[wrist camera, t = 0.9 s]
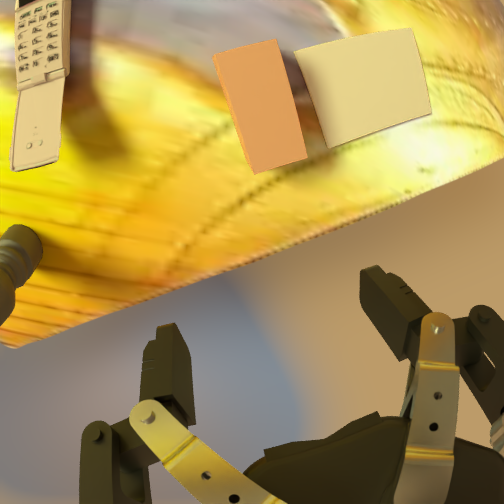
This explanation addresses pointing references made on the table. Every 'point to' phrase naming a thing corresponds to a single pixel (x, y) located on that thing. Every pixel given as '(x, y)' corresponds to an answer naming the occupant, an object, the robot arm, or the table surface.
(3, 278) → the candle holder
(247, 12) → the table surface
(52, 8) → the mobile phone
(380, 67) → the beige flat plate
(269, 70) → the card box
